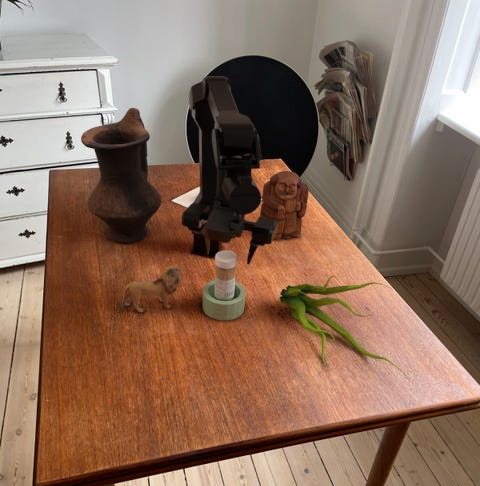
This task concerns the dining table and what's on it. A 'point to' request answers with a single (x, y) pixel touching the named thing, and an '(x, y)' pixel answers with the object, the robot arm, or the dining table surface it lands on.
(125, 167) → the jug
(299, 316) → the decorative plant
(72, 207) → the dining table surface
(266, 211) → the wooden figurine
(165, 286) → the lion figurine
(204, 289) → the jar
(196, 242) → the robot arm
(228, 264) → the sprinkles bottle
